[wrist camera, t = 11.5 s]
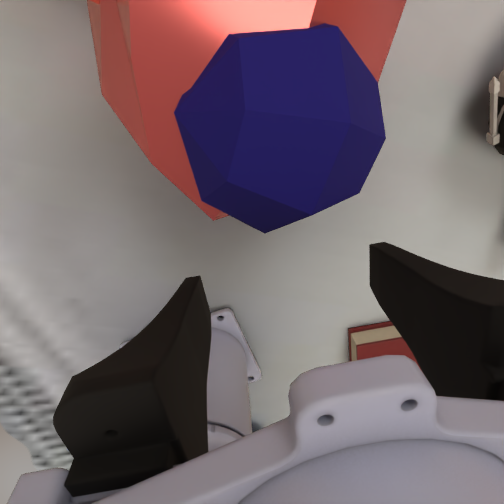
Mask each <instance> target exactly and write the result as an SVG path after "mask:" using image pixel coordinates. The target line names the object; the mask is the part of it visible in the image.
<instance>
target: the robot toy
mask: <svg viewBox="0 0 504 504" xmlns="http://www.w3.org/2000/svg"><path fill="white" fill-rule="evenodd" d="M489 92H490V106H489V123H488V124H489V129H490V132H488V133H487V140H486V142H488V143H489V144H491V145H493V146H494V147H495V148H496V149H497V150H498V152H499V153H500V154H502V155H504V69H503V70H502V72H501V73H500V75H499V78H498V80H497V79H496V77H495V76H494V77H493V78H492V80H491V81H490V82H489Z"/></svg>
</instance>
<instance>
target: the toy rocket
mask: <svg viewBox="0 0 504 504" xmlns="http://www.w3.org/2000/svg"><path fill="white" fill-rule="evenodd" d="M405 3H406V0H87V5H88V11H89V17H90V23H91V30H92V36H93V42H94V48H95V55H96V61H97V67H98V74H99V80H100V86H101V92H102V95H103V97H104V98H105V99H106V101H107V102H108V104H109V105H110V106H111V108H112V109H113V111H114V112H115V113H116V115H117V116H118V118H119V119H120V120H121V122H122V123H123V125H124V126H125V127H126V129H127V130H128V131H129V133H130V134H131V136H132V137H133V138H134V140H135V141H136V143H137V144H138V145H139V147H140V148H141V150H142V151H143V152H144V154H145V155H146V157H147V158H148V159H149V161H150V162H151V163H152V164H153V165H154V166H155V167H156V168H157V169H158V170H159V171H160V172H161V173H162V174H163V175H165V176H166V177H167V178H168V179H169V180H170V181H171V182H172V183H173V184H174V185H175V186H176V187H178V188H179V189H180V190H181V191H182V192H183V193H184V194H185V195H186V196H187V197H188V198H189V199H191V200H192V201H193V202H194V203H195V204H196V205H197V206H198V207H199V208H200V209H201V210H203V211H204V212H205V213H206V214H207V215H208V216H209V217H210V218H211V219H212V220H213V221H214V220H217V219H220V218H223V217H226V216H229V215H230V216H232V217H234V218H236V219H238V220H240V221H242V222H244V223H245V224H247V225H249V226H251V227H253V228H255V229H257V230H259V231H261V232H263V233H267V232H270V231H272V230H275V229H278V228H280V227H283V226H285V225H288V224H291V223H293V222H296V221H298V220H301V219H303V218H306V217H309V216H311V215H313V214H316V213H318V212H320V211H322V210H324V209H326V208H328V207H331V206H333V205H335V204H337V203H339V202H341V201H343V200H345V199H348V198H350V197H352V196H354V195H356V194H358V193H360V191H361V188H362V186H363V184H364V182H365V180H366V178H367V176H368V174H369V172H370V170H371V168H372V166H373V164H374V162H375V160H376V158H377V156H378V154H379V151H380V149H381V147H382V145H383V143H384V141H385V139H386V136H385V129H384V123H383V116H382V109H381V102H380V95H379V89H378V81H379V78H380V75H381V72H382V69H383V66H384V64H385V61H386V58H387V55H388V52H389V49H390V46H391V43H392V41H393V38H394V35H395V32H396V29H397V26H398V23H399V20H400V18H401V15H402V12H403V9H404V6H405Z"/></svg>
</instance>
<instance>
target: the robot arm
mask: <svg viewBox="0 0 504 504" xmlns="http://www.w3.org/2000/svg"><path fill="white" fill-rule="evenodd" d="M370 287H371V289H372V291H373V293H374V295H375V297H376V299H377V301H378V303H379V305H380V306H381V308H382V309H383V311H384V312H385V314H386V315H387V316H388V318H389V319H390V321H391V322H392V324H393V325H394V326H395V328H396V329H397V331H398V332H399V334H400V335H401V336H402V338H403V339H404V341H405V342H406V344H407V345H408V347H409V348H410V350H411V352H412V353H413V355H414V357H415V359H416V361H417V363H418V364H419V366H420V368H421V369H420V368H419V366H418V365H417V363H416V362H415V361H413V360H411V359H410V358H408V357H406V356H405V355H384V356H378V357H373V358H367V359H362V360H356V361H350V362H345V363H339V364H334V365H328V366H323V367H317V368H314V369H312V370H309V371H306V372H304V373H302V374H300V375H299V376H298V377H297V378H296V379H295V380H294V381H293V382H292V383H291V385H290V390H289V395H288V398H289V404H290V415H289V416H288V417H287V418H285V419H283V420H280V421H278V422H276V423H273V424H271V425H269V426H267V427H264V428H262V429H260V430H258V431H255V432H253V433H252V422H251V411H250V399H249V388H248V383H251V382H254V381H258V380H260V379H261V378H262V373H261V370H260V368H259V366H258V364H257V362H256V360H255V358H254V355H253V353H252V351H251V349H250V347H249V345H248V343H247V341H246V339H245V336H244V334H243V332H242V330H241V328H240V326H239V324H238V322H237V320H236V318H235V315H234V313H233V311H232V310H231V309H229V308H225V309H222V310H219V311H216V312H213V313H210V309H209V306H208V302H207V299H206V295H205V291H204V288H203V284H202V280H201V277H200V276H195V277H189V278H186V279H185V280H184V281H183V283H182V284H181V285H180V287H179V288H178V290H177V291H176V292H175V294H174V295H173V296H172V298H171V299H170V300H169V302H168V303H167V304H166V306H165V307H164V308H163V309H162V310H161V311H160V312H159V314H158V315H157V316H156V317H155V318H154V319H153V320H152V321H151V322H150V323H149V324H148V325H147V326H146V327H145V328H144V329H143V330H142V331H141V332H140V333H139V334H138V335H137V336H135V337H134V338H133V339H131V340H129V341H126V342H123V343H122V344H121V345H120V348H119V350H117V351H116V352H114V353H113V354H111V355H110V356H108V357H107V358H105V359H104V360H102V361H100V362H99V363H97V364H95V365H94V366H92V367H90V368H88V369H86V370H84V371H83V372H81V373H79V374H77V375H75V376H73V377H72V378H71V380H70V382H69V384H68V386H67V388H66V390H65V392H64V394H63V396H62V398H61V400H60V402H59V405H58V407H57V409H56V411H55V414H54V416H53V425H54V427H55V429H56V432H57V433H58V435H59V436H60V438H61V439H62V441H63V442H64V444H65V445H66V447H67V448H68V450H69V451H70V453H71V454H72V456H73V458H74V460H73V462H72V465H71V468H70V470H69V471H68V470H67V469H64V468H53V469H47V470H41V471H36V472H31V473H25V474H23V475H21V476H20V478H19V480H18V482H17V484H16V486H15V488H14V490H13V492H12V494H11V496H10V498H9V500H8V502H7V504H504V280H499V279H494V278H488V277H483V276H479V275H474V274H470V273H467V272H463V271H459V270H456V269H453V268H449V267H446V266H443V265H441V264H438V263H435V262H432V261H430V260H427V259H425V258H422V257H420V256H417V255H415V254H413V253H410V252H408V251H406V250H403V249H401V248H399V247H396V246H394V245H391V244H389V243H386V242H381V243H376V244H370ZM218 316H223V317H222V318H219V317H218ZM421 370H422V371H421ZM250 376H252V377H250Z"/></svg>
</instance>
